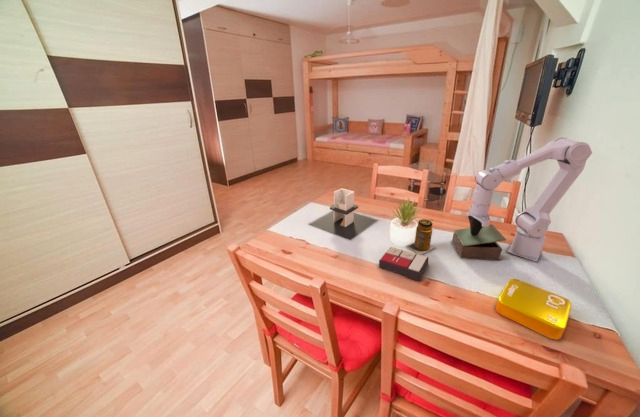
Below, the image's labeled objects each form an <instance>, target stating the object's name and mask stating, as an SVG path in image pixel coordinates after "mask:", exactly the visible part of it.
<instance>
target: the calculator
mask: <svg viewBox="0 0 640 417" xmlns="http://www.w3.org/2000/svg"><path fill="white" fill-rule="evenodd" d="M429 259H430V258H429V256H426V255H423V254H422V255H420V254H418V253H416V252H413V251H408V250H405V249H404V250H403V249H400V248H397V247H392V246H390V247H389V248H388V249H387V250H386V252H385V253H384V254H383V255H382V256H381V258H380V259H379V260H378V267H379V268H381V269H384V270H387V271H390V272H392V273H395V274H396V273H397V274H400V275H402V276H406V277H407V279H410V280H413V281H417V282H420V281H421V279H422V277H423V275H424V274H425V272H426V270H427V268H428V266H429Z"/></svg>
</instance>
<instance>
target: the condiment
mask: <svg viewBox="0 0 640 417" xmlns="http://www.w3.org/2000/svg"><path fill="white" fill-rule="evenodd" d="M432 235H433V222H432V220H429V219H425V218H422V219H419V220H418V223H417V226H416V230H415V236H414V242H413V243H411V244H409V245H406V247H407V248H408V249H409V250H411V251H412V252H413V253H416V254H418V255H422V256H423V255H424V254H426V253H427V252H430V251H432V250H433V249H434V247H433V246H431V243H432V242H431V241H432Z"/></svg>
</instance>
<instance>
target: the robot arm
mask: <svg viewBox="0 0 640 417" xmlns="http://www.w3.org/2000/svg"><path fill="white" fill-rule="evenodd" d="M591 155H593V152H592V149H591V146H590V145H589V143H588V142H585V141H579V140H573V139H570V138H568V137H562V136H561V137H557V138H555V139H554V140H551V141H548V142H547V143H546V144H545V145H544V146H541V147H540V148H539V149H536V150H534V151H532V152H531V153H528V154H527V155H525V156H523V157H521V158H519V159H517V160H515V159H506V160H504V161H503V163H500V164H498V165H496V166H494V167H493V166H492V167H490V168H489V169H484V170H481V171H479V172H478V173H477V174H476V176H474V181H475V183H476V187H475V190H474V195H473V199H472V204H471V205H469V206H468V211H467V212H466V215H467V217H468V221H469V228H470V233H471V235H478V233H479V232H480V230H481V229H482V227H489V225H490V224H491V222H490V221H489V212H490V208H491V204H492V200H493V197H494V192H495V189H497V188H498V187H499V186H500V185H501V184H502V183H503V182H506V181H507V180H509V179H511V178H514V177H517V176H518V175H520V174H521V173H522V170H524V169H526V168H529V167H531V166H534V165H536V164H539V163H542V162H544V161H547V160H555V161H556V162H557V164H558V166H559V169H558V170H557V172H556V173H555V175H554V176H553V177H552V179H551V180H550V181H549V183H548V185H546V187H545V188H544V190H543V191H542V193H541V194H540V195H539V196H538V198H537V199H536V201H535V203H534V204H532V206H529V207H526V208H524V209H523V211H522V212H521V213H519V214H518V215H516V217H515V218H514V223H515V225H516V230H515V234H514V237H513V240H512V243H511V245H509V248H508V249H507V253H508V254H511V255H514V256H517V257H521V258H524V259H527V260H530V261H532V262H538V261H539V258H540V256H542V253H543V247H544V245H545V242H546V239H547V237H546V236H544V235H546V233H547V232H548V230H549V226H550V225H551V223H552V220H551V215H550V214H551V212H552V211H553V210H554V209H555V208H556V206H557V205H558V204H559V202H560V201H561V199H562V198H563V197H564V196H565V195H566V193H567V192H568V190H570V188H571V186H572V185H573V184H574V183H575V181H576V180H577V179H578V177H579V176H580V175H581V174H582V172H583V171H584V169H585V166H586V163H587V161H588V160H589V158H590V157H591Z"/></svg>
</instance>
